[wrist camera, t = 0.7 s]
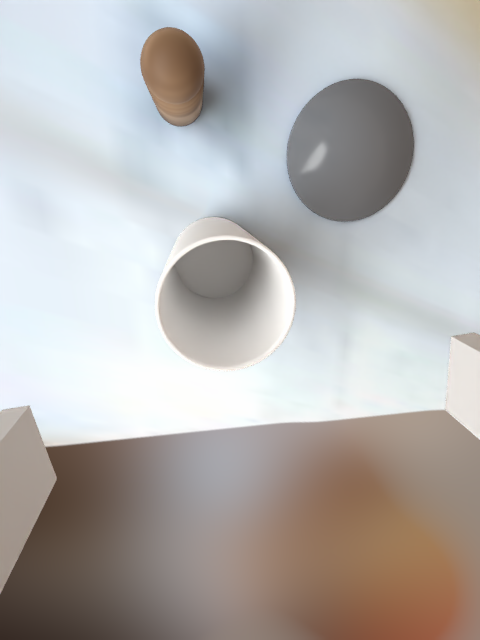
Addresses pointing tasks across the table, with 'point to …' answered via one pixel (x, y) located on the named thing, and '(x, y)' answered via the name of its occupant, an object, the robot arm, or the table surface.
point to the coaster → (350, 150)
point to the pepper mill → (174, 75)
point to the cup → (223, 297)
